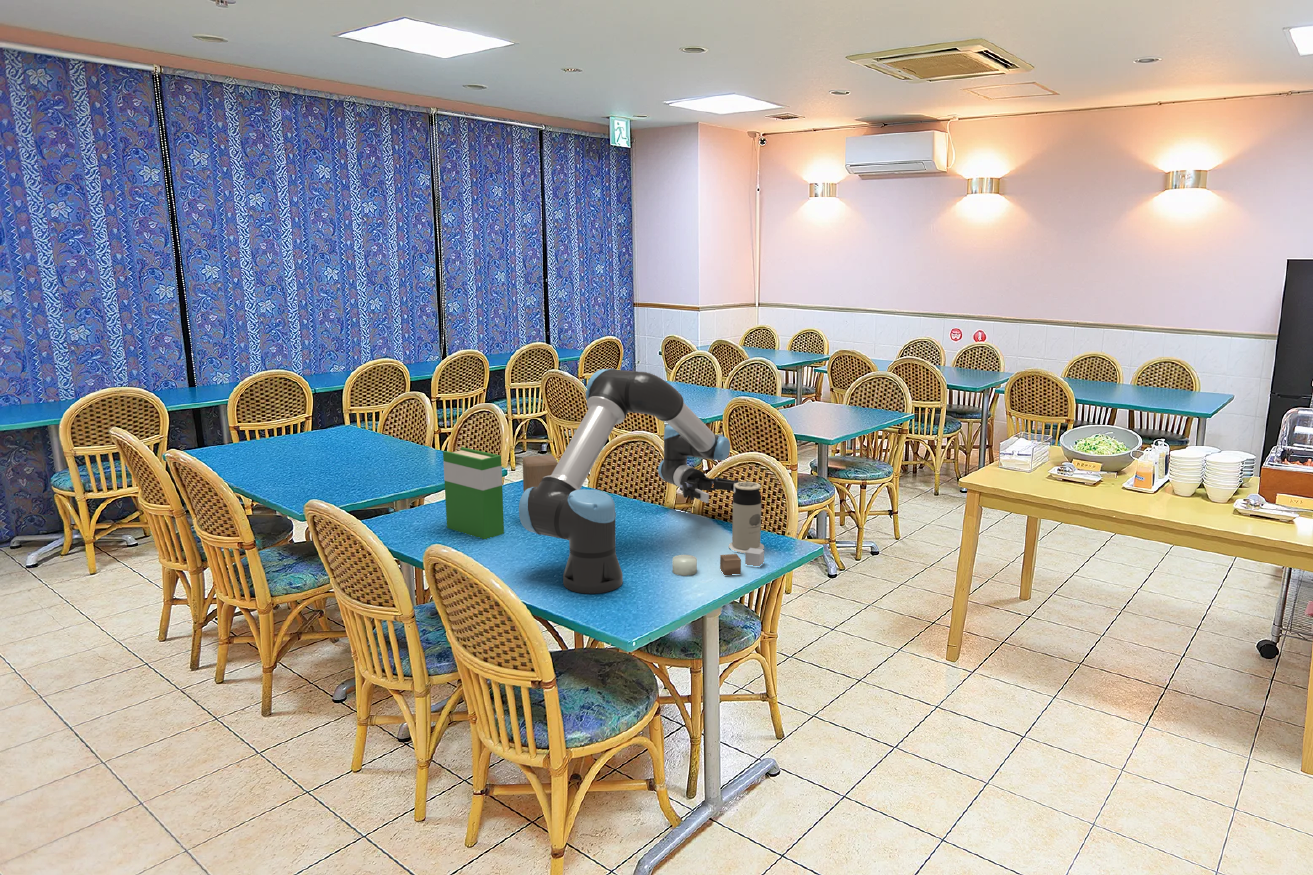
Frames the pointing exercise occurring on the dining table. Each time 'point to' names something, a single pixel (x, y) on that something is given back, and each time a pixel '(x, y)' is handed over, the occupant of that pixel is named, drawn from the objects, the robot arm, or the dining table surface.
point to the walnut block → (730, 564)
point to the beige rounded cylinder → (684, 565)
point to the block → (537, 469)
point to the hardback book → (474, 492)
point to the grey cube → (754, 557)
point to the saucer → (743, 550)
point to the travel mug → (746, 515)
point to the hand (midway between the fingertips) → (727, 495)
